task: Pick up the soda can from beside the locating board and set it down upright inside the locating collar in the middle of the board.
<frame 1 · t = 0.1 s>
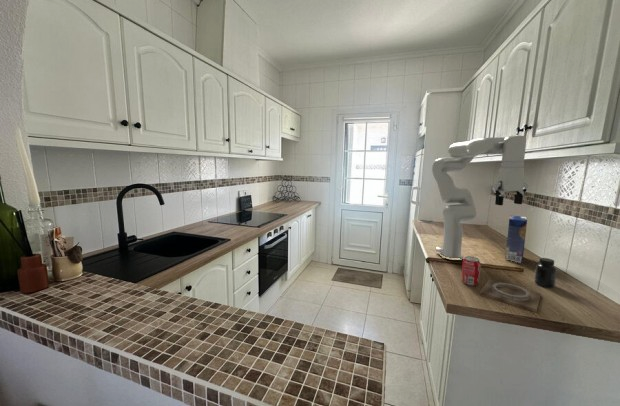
hand: (508, 204, 110), 37 cm above the counter, tool pointing down, fingers open, 9 cm apart
locating board: (509, 295, 105), on the counter
soda can: (469, 283, 117), on the counter
supplement bottle: (544, 285, 113), on the counter
juice carton: (513, 258, 144), on the counter
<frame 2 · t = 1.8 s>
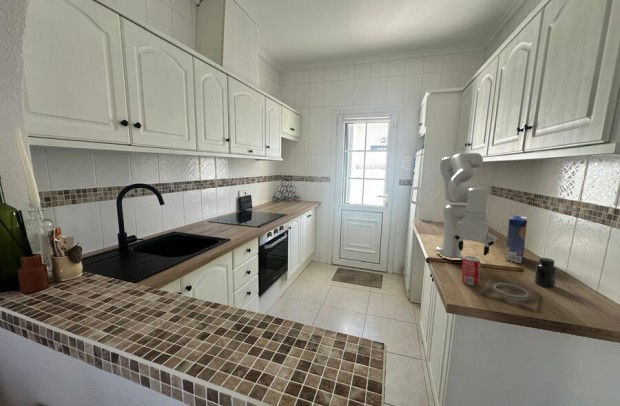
hand: (472, 252, 114), 15 cm above the counter, tool pointing down, fingers open, 9 cm apart
nothing on the counter moved.
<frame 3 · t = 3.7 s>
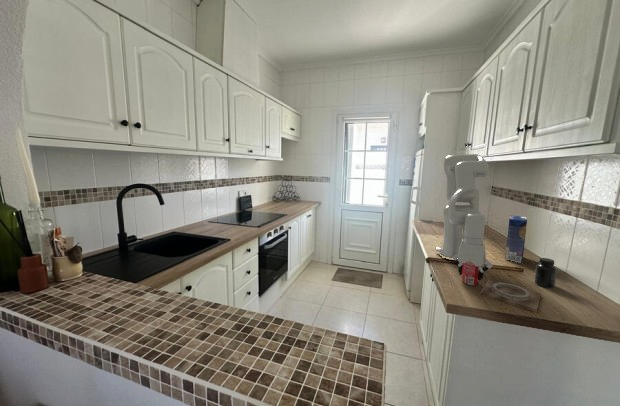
hand: (470, 276, 116), 3 cm above the counter, tool pointing down, fingers closed on soda can, 7 cm apart
soda can: (469, 283, 117), on the counter, touching gripper
everything else where it was.
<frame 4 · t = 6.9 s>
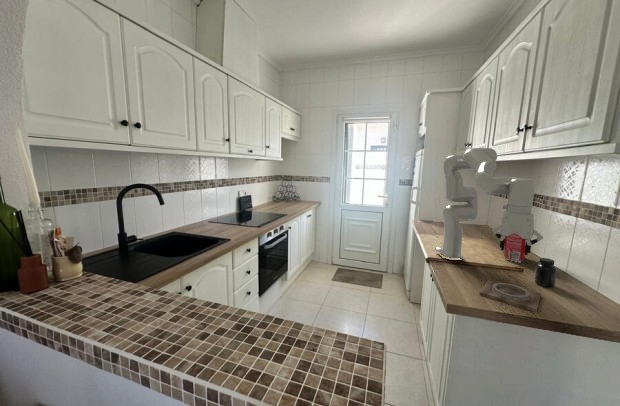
hand: (514, 251, 102), 19 cm above the counter, tool pointing down, fingers closed on soda can, 7 cm apart
soda can: (513, 259, 103), point 16 cm above the counter, touching gripper
everything else where it was.
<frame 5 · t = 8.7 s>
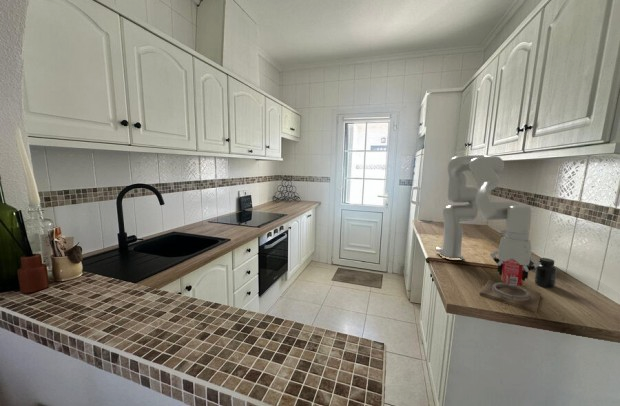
hand: (512, 276, 104), 9 cm above the counter, tool pointing down, fingers closed on soda can, 7 cm apart
soda can: (511, 284, 104), point 5 cm above the counter, touching gripper
everything else where it was.
when the fingers open (6 cm above the counter, at t = 10.3 s): soda can drops 1 cm, resting on locating board.
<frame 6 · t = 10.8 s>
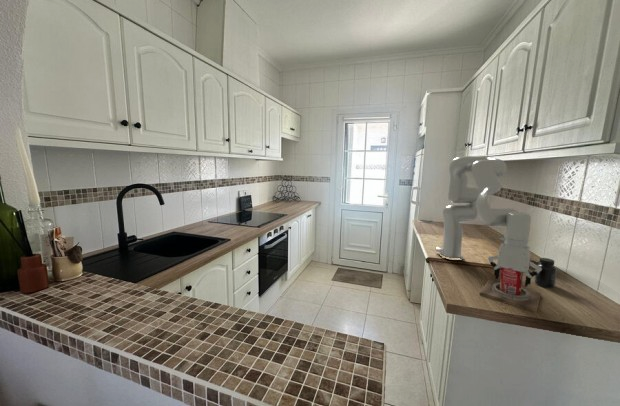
hand: (511, 281, 104), 6 cm above the counter, tool pointing down, fingers open, 9 cm apart
soda can: (509, 292, 105), point 1 cm above the counter, touching locating board
everything else where it was.
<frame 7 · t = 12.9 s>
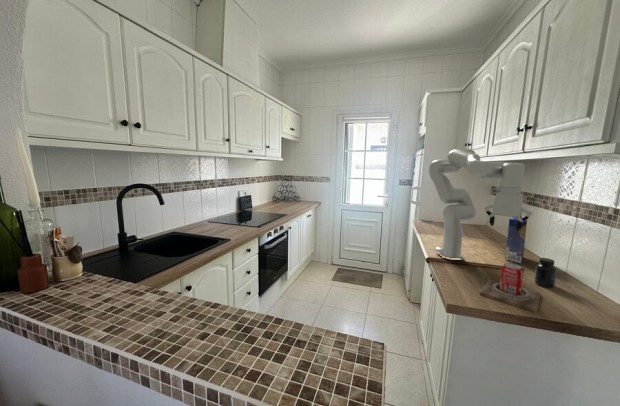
hand: (504, 227, 114), 26 cm above the counter, tool pointing down, fingers open, 9 cm apart
nothing on the counter moved.
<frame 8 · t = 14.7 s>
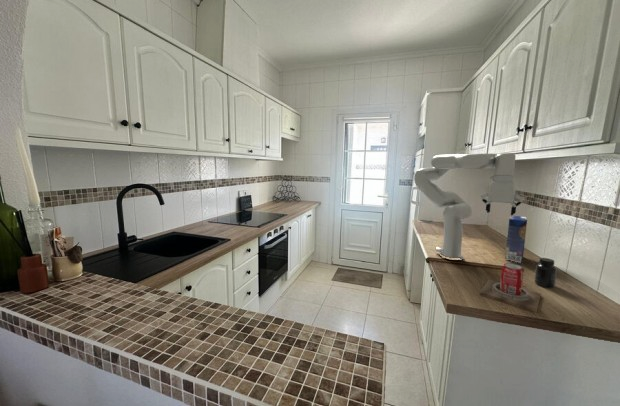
hand: (499, 213, 124), 30 cm above the counter, tool pointing down, fingers open, 9 cm apart
nothing on the counter moved.
at the end: soda can 0.1 cm off-centre on the locating board, point 1.0 cm above the locating board's base; soda can tilted 0°; the gripper is holding nothing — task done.
